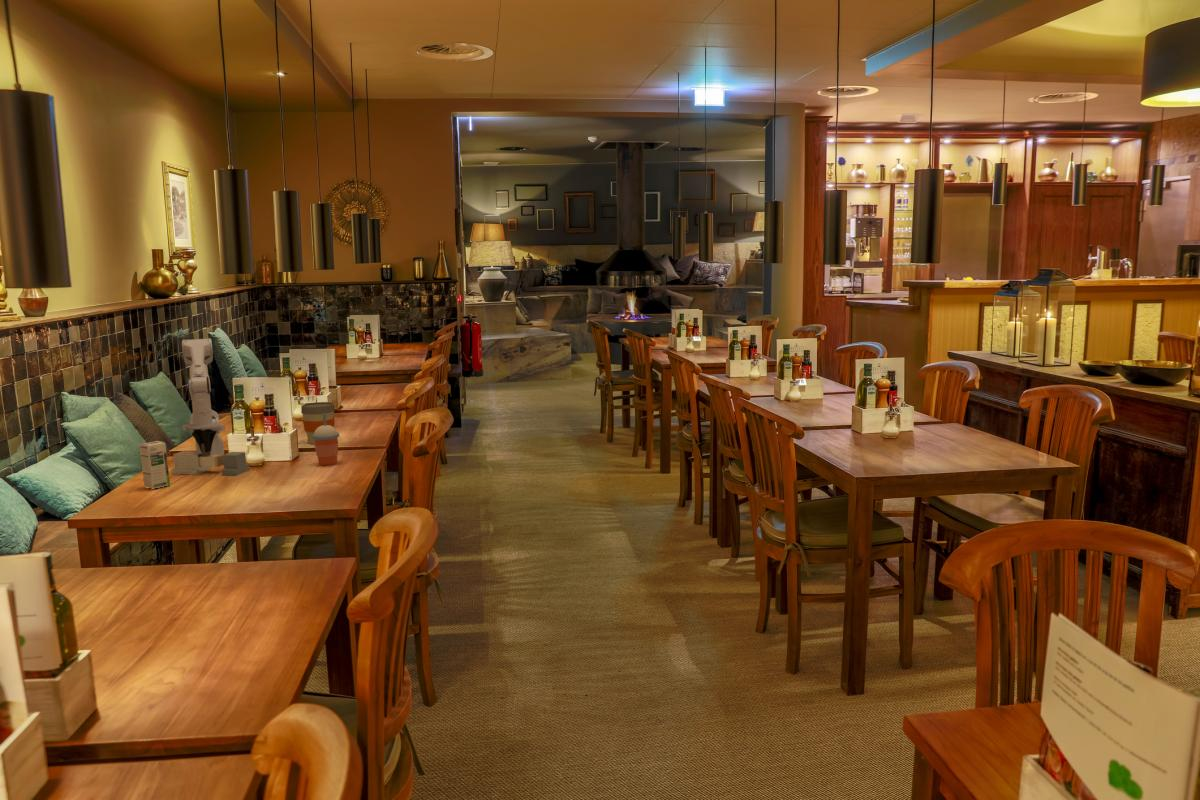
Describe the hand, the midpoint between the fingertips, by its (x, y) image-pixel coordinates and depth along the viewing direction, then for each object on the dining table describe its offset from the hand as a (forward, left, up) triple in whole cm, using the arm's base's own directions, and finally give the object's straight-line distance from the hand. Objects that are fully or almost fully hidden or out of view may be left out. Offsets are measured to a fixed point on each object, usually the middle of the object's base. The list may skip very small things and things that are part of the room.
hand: (206, 451), depth 299 cm
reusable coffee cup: (-50, +15, -7) cm, 53 cm away
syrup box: (+20, -5, -7) cm, 22 cm away
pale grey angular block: (0, -2, -5) cm, 5 cm away
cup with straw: (-15, +36, -7) cm, 40 cm away
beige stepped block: (0, -6, -7) cm, 9 cm away
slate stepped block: (0, +10, -7) cm, 13 cm away
